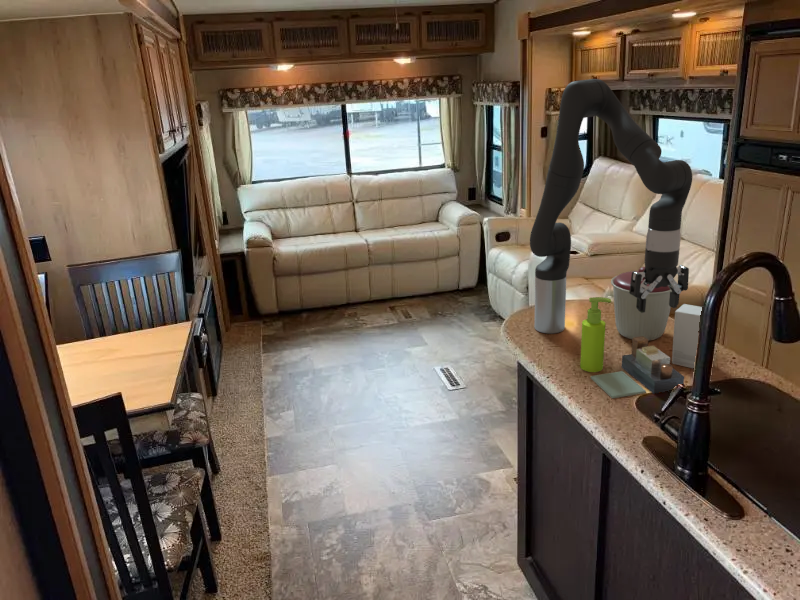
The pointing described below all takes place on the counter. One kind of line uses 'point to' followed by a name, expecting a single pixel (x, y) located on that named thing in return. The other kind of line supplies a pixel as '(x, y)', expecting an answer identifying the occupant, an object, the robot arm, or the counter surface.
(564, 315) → the robot arm
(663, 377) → the hand plane
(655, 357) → the lever cap
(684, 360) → the skincare box
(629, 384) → the rubber mat
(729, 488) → the counter surface
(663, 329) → the canister
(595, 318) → the soap dispenser
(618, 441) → the counter surface
